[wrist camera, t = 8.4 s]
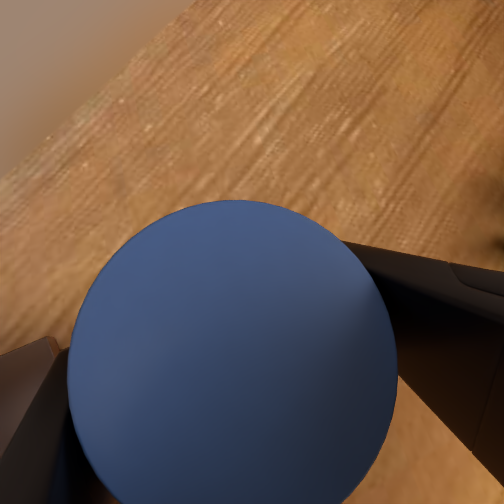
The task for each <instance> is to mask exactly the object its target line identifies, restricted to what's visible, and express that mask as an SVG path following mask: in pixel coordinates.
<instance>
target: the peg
mask: <svg viewBox="0 0 504 504" xmlns="http://www.w3.org/2000/svg"><path fill="white" fill-rule="evenodd" d="M397 382H398V361H397V349H396V343H395V336H394V331H393V327H392V324H391V320H390V317H389V313H388V311H387V308H386V306H385V303H384V301H383V298H382V296H381V294H380V292H379V290H378V288H377V286H376V285H375V283H374V281H373V279H372V277H371V276H370V274H369V273H368V271H367V270H366V269H365V267H364V266H363V264H362V263H361V262H360V260H359V259H358V258H357V257H356V256H355V255H354V254H353V253H352V251H351V250H350V249H349V248H348V247H347V246H346V245H345V244H344V243H343V242H341V241H340V240H339V239H338V238H337V237H336V236H335V235H333V234H332V233H331V232H329V231H328V230H326V229H325V228H324V227H322V226H321V225H319V224H318V223H316V222H314V221H312V220H310V219H309V218H307V217H305V216H303V215H301V214H299V213H296V212H294V211H291V210H288V209H286V208H283V207H280V206H275V205H271V204H267V203H263V202H255V201H246V200H223V201H215V202H207V203H202V204H198V205H195V206H191V207H187V208H184V209H181V210H179V211H176V212H174V213H171V214H169V215H166V216H165V217H163V218H161V219H159V220H157V221H155V222H154V223H152V224H150V225H148V226H147V227H146V228H144V229H143V230H141V231H140V232H139V233H137V234H136V235H135V236H133V237H132V238H131V239H130V240H128V241H127V242H126V243H125V244H124V245H123V246H122V247H121V248H120V249H119V250H118V251H117V252H116V253H115V254H114V255H113V256H112V258H111V259H110V260H109V261H108V262H107V264H106V265H105V266H104V267H103V268H102V270H101V271H100V273H99V274H98V276H97V278H96V279H95V281H94V282H93V284H92V285H91V287H90V289H89V291H88V293H87V295H86V297H85V299H84V301H83V304H82V306H81V308H80V310H79V313H78V316H77V319H76V323H75V326H74V329H73V332H72V337H71V343H70V348H69V354H68V368H67V387H68V398H69V407H70V411H71V416H72V420H73V424H74V428H75V432H76V434H77V437H78V439H79V442H80V445H81V447H82V450H83V452H84V455H85V456H86V458H87V460H88V462H89V463H90V465H91V467H92V469H93V470H94V472H95V474H96V476H97V477H98V478H99V480H100V481H101V482H102V483H103V485H104V486H105V487H106V488H107V490H108V491H109V492H110V494H111V495H112V496H113V497H114V498H115V499H116V500H117V501H118V502H119V503H120V504H341V503H342V502H343V501H344V500H345V499H346V498H347V497H349V496H350V494H351V493H352V492H353V491H354V490H355V488H356V487H357V486H358V485H359V483H360V482H361V481H362V480H363V479H364V477H365V476H366V474H367V472H368V471H369V469H370V468H371V466H372V464H373V463H374V461H375V460H376V458H377V456H378V454H379V451H380V449H381V447H382V445H383V443H384V440H385V438H386V436H387V432H388V429H389V426H390V423H391V420H392V417H393V411H394V406H395V401H396V396H397Z"/></svg>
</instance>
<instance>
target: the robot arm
mask: <svg viewBox="0 0 504 504" xmlns="http://www.w3.org/2000/svg"><path fill="white" fill-rule="evenodd" d="M340 241H341V240H340ZM341 242H343V243H344V244H345V245H346V246H347V247H348V248H349V249H350V250H351V251H352V253H353V254H354V255H355V256H356V257H357V258H358V259H359V260H360V262H361V263H362V264H363V266H364V267H365V269H366V270H367V271H368V273H369V274H370V276H371V277H372V279H373V281H374V283H375V285H376V286H377V288H378V290H379V292H380V294H381V296H382V298H383V301H384V303H385V306H386V308H387V311H388V313H389V317H390V320H391V324H392V327H393V331H394V336H395V343H396V349H397V361H398V375H399V376H400V377H401V378H402V379H403V380H404V381H405V382H406V384H407V385H408V386H409V387H410V388H411V389H412V390H413V391H414V392H415V393H416V394H417V395H418V396H419V397H420V398H421V399H422V401H423V402H424V403H425V404H426V405H427V406H428V407H429V408H430V409H431V410H432V411H433V412H434V413H435V414H436V415H437V416H438V418H439V419H440V420H441V421H442V422H443V423H444V424H445V425H446V426H447V427H448V428H449V429H450V430H451V431H452V432H453V433H454V435H455V436H456V437H457V438H458V439H459V440H460V441H461V442H462V443H463V444H464V445H465V446H466V447H467V448H468V449H469V450H470V451H472V454H473V455H474V456H475V457H476V458H477V459H478V460H479V461H480V462H481V464H482V465H483V466H484V467H485V468H486V469H487V470H488V471H489V472H490V473H491V474H492V475H493V476H494V477H495V478H496V479H497V481H498V482H499V483H500V484H501V485H502V486H503V487H504V272H501V271H495V270H488V269H483V268H477V267H472V266H466V265H461V264H457V263H452V262H450V263H448V262H446V261H441V260H436V259H431V258H426V257H421V256H416V255H411V254H406V253H401V252H396V251H391V250H386V249H381V248H376V247H371V246H366V245H361V244H356V243H351V242H346V241H341ZM69 348H70V347H67V348H65V349H63V350H61V351H60V352H59V353H58V354H57V356H56V358H55V360H54V361H53V363H52V365H51V367H50V369H49V371H48V372H47V374H46V376H45V378H44V380H43V382H42V383H41V385H40V387H39V389H38V391H37V393H36V394H35V396H34V398H33V400H32V402H31V404H30V405H29V407H28V409H27V411H26V413H25V415H24V416H23V418H22V420H21V422H20V424H19V426H18V427H17V429H16V431H15V433H14V435H13V437H12V438H11V440H10V442H9V444H8V446H7V448H6V450H5V451H4V453H3V455H2V457H1V459H0V504H120V503H119V502H118V501H117V500H116V499H115V498H114V497H113V496H112V495H111V494H110V492H109V491H108V490H107V488H106V487H105V486H104V485H103V483H102V482H101V481H100V480H99V478H98V477H97V476H96V474H95V472H94V470H93V469H92V467H91V465H90V463H89V462H88V460H87V458H86V456H85V455H84V452H83V450H82V447H81V445H80V442H79V439H78V437H77V434H76V432H75V428H74V424H73V420H72V416H71V411H70V407H69V398H68V387H67V368H68V354H69Z"/></svg>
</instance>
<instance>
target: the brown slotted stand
mask: <svg viewBox="0 0 504 504" xmlns="http://www.w3.org/2000/svg"><path fill="white" fill-rule="evenodd" d="M59 352H60V351H59V348H58V346H57V343H56V340H55V338H54V337H44V338H41V339H39V340H37V341H34V342H32V343H30V344H27V345H25V346H23V347H20V348H18V349H16V350H13V351H11V352H9V353H6V354H4V355H2V356H0V459H1V457H2V455H3V453H4V451H5V450H6V448H7V446H8V444H9V442H10V440H11V438H12V437H13V435H14V433H15V431H16V429H17V427H18V426H19V424H20V422H21V420H22V418H23V416H24V415H25V413H26V411H27V409H28V407H29V405H30V404H31V402H32V400H33V398H34V396H35V394H36V393H37V391H38V389H39V387H40V385H41V383H42V382H43V380H44V378H45V376H46V374H47V372H48V371H49V369H50V367H51V365H52V363H53V361H54V360H55V358H56V356H57V354H58V353H59Z"/></svg>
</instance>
